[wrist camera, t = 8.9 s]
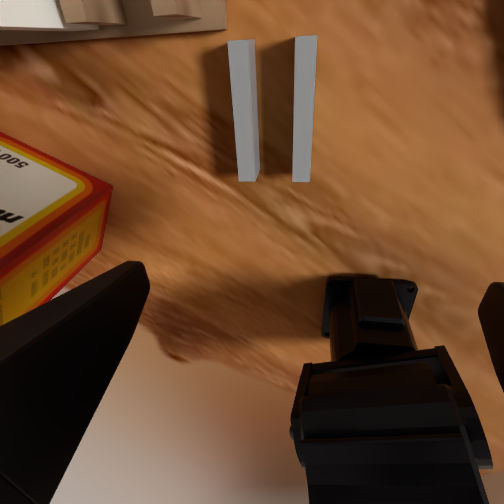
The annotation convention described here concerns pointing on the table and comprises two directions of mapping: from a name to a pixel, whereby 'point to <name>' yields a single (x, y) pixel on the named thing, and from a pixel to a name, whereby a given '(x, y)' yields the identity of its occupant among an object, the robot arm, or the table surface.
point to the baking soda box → (44, 225)
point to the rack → (128, 19)
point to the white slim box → (36, 16)
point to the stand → (247, 109)
